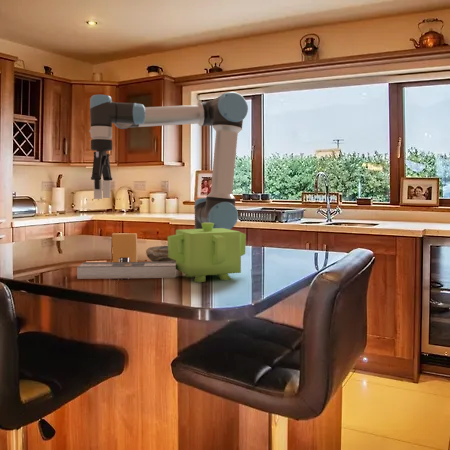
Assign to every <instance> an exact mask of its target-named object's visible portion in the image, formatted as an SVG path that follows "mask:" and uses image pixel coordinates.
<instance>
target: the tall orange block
mask: <svg viewBox="0 0 450 450" xmlns="http://www.w3.org/2000/svg"><path fill="white" fill-rule="evenodd" d="M111 245H112V246H111V248H112V249H111V251H112V255H111V256H112V262H121V259H123V258H127V259H128V258H130V259H129V260H130V261H129V262H138V233H135V232H134V233H128V232H126V233H123V232H122V233H121V232H120V233H112V234H111Z"/></svg>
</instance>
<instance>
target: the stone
mask: <svg viewBox="0 0 450 450" xmlns="http://www.w3.org/2000/svg"><path fill="white" fill-rule="evenodd" d="M145 254H146V257H147V258H148V259H149V260H150V262H176V260H174V259H171V258H169V257H168V245H160V246H159V245H158V246H152V247H151V246H150V247H147V248H146V250H145Z"/></svg>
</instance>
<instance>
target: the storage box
mask: <svg viewBox="0 0 450 450" xmlns="http://www.w3.org/2000/svg"><path fill="white" fill-rule="evenodd" d="M201 225H202V228H203V229H195V228H188V229H186V228H185V229H176V230H175V234H171V235H168V236H167V246H168V257H169V258H171V259H174V260H176V271H177V270H178V271H179V272H181V273H183V274H185V276H184V277H186V278H194V277H195V278H194V280H193V282H194V283H204V282H206V279H207V277H206V276H218V278H219V280H221V281H229V280H232V278H231V276H230V275H229V274H238V273H239V274H240V273H242V256H244V255H245V254H246V242H247V241H246V238H247V235H246V233H243V232H241V231H239V230H234V229H225V228H213V226H214V223H201Z"/></svg>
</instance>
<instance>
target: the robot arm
mask: <svg viewBox="0 0 450 450" xmlns="http://www.w3.org/2000/svg"><path fill="white" fill-rule="evenodd" d="M89 98H90V100H89V118H90V119H89V120H90V121H89V122H90V125H89V126H90V129H89V130H88V133H90V138H91V139H90V150H92V151H93V162H92V171H91V172H92V173H91V177H90V180H91V181H93V199H94V200H99V199H101V200H102V199H111V181H113V177H112V172H111V171H112V170H111V163H110V154H109V153H108V152H110V151H112V150H113V141H112V138H113V124H114V126H115V127H116V128H118V129H121V130H127V129H128V128H142V127H158V126H159V127H160V126H162V127H163V126H179V125H195V124H197V125H198V126H200V127H203V126H204V127H210V126H211V127H212V129H214V131H215V141H214V152H213V164H212V165H213V166H212V175H211V187H210V192H209V193H208V194H207V195H206V197H204V198H203V197H202V198H197V199H195V201H194V229H203V228H202V225H201V223H214V226H213V228H225V229H230V230H233V228H234V227H235V226H236V224H237V222H238V218H239V211H238V209H237V207H236V197H235V196H234V194H233V190H234V189H233V188H234V178H235V166H236V165H235V164H236V156H237V148H238V147H237V146H238V145H237V144H238V136H239V133H240V132H241V131H243V124H244V123H243V122H244V120H245V118H246V117H247V114H248V112H249V106H248V102H247V100H246V99H245V97H244V96H243V95H242V94H241V93H239V92H237V91H228V92H224V93H222V94H221V95H220V96H217V97H216V98H214V99H211V100H207V101H199V102H197V103H196V104H186V105H168V106H166V105H165V106H145V105H144V104H142V103H137V102H133V103H132V102H114V101H113V100H112V97H111V96H110V95H106V94H93V95H91V97H89Z"/></svg>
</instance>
